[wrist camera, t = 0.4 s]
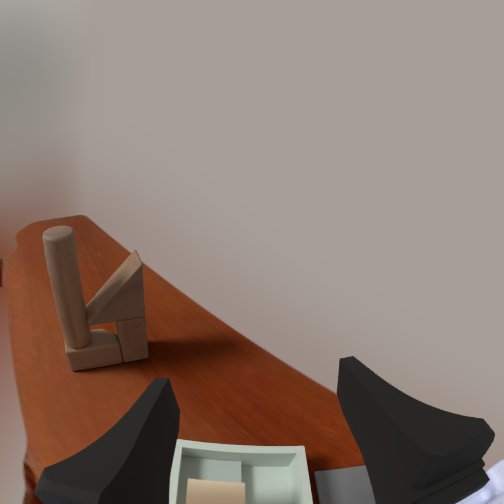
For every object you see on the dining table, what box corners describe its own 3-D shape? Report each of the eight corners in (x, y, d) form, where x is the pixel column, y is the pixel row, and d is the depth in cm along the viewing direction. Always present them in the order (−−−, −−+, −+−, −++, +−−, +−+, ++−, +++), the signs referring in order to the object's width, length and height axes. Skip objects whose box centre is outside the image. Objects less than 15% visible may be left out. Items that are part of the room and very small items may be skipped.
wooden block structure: (149, 358, 36) (142, 229, 29) (72, 372, 31) (38, 240, 23) (142, 340, 39) (136, 217, 31) (69, 353, 33) (42, 226, 26)
